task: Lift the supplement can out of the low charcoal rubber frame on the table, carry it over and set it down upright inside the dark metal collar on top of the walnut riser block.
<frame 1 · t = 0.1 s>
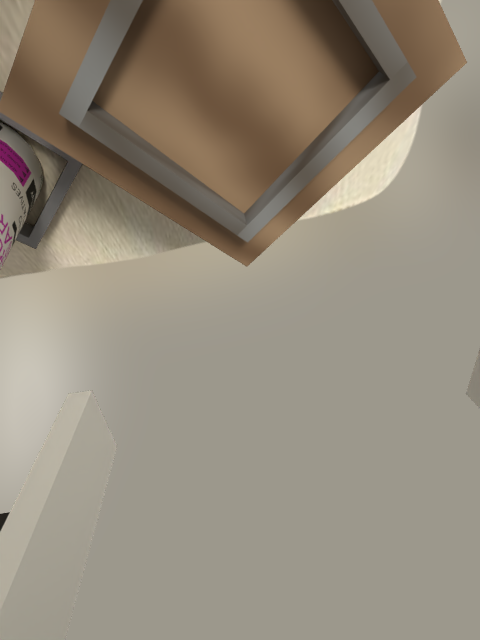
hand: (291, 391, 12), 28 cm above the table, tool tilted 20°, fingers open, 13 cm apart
riser block: (220, 37, 26), on the table
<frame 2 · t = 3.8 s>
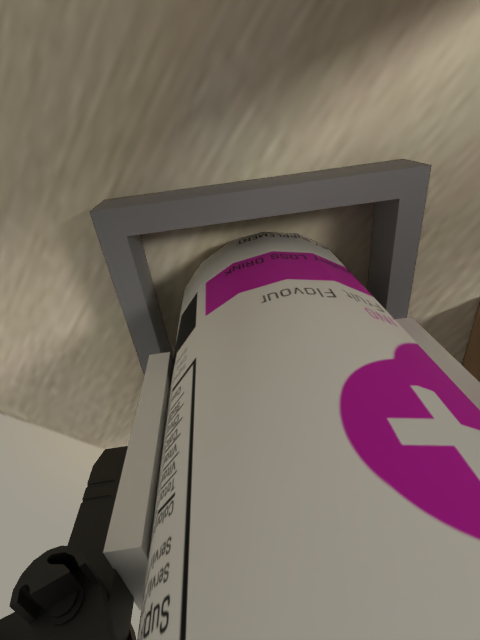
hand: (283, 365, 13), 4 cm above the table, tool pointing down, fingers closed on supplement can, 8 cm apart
base frame: (265, 310, 17), on the table
supplement can: (265, 308, 17), resting in base frame, touching gripper
when the fingers open (18 cm above the table, at t = 10.1 s): supplement can drops 1 cm, resting on riser block.
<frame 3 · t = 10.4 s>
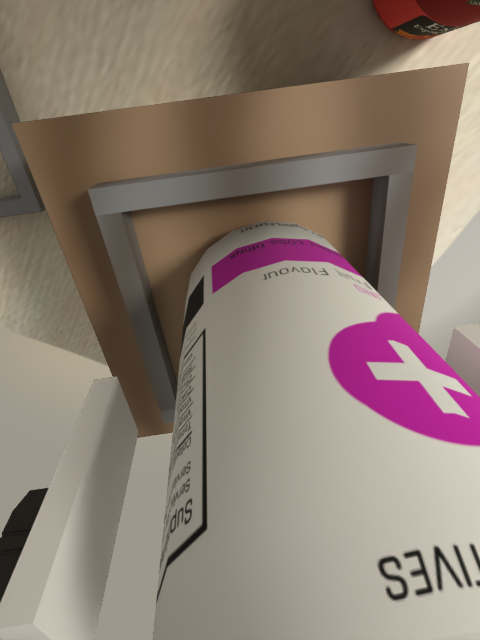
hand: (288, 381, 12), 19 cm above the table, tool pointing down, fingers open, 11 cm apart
supplement can: (265, 294, 18), point 12 cm above the table, touching riser block
riser block: (241, 231, 28), on the table
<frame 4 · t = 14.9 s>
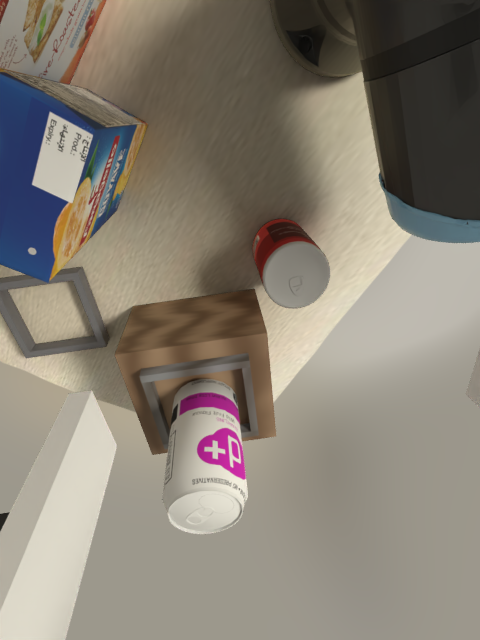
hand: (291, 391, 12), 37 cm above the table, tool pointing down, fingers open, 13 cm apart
base frame: (55, 311, 49), on the table
supplement can: (205, 398, 45), point 12 cm above the table, touching riser block
riser block: (204, 347, 55), on the table
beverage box: (103, 154, 40), on the table
canned food: (278, 245, 48), on the table
cracker box: (71, 7, 33), on the table
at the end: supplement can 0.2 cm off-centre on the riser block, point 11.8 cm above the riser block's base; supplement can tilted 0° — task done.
